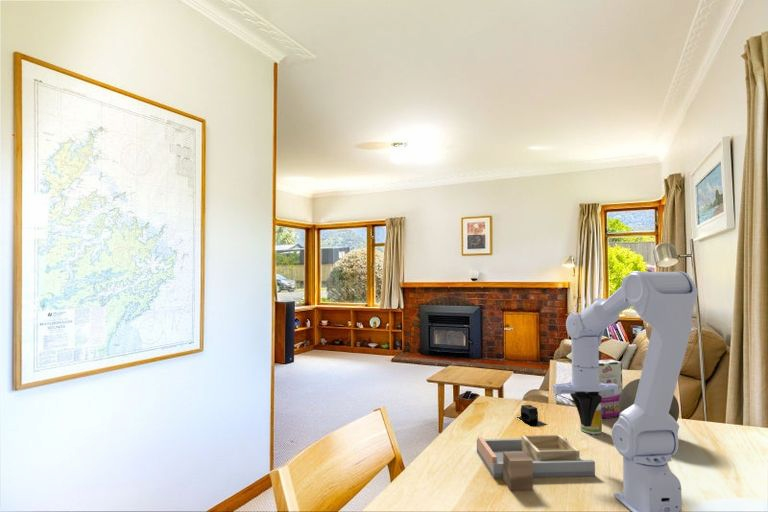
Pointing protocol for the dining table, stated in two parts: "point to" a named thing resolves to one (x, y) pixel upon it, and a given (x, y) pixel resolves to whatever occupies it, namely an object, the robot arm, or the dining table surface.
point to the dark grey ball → (629, 397)
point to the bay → (493, 460)
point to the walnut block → (518, 471)
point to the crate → (548, 448)
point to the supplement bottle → (594, 423)
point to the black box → (530, 416)
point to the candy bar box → (610, 374)
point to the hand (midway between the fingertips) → (585, 425)
